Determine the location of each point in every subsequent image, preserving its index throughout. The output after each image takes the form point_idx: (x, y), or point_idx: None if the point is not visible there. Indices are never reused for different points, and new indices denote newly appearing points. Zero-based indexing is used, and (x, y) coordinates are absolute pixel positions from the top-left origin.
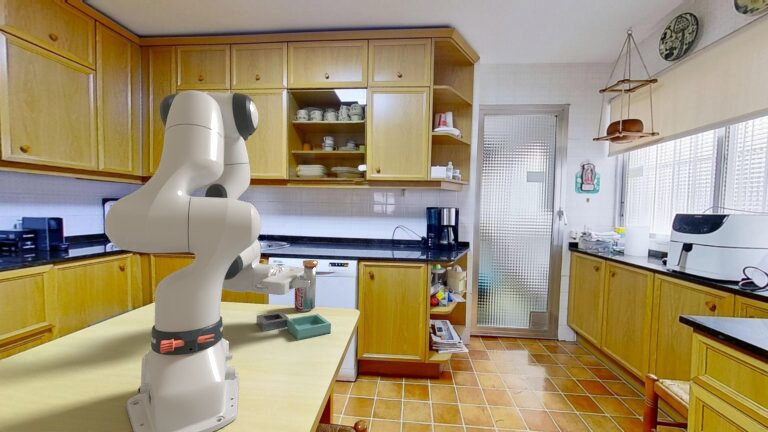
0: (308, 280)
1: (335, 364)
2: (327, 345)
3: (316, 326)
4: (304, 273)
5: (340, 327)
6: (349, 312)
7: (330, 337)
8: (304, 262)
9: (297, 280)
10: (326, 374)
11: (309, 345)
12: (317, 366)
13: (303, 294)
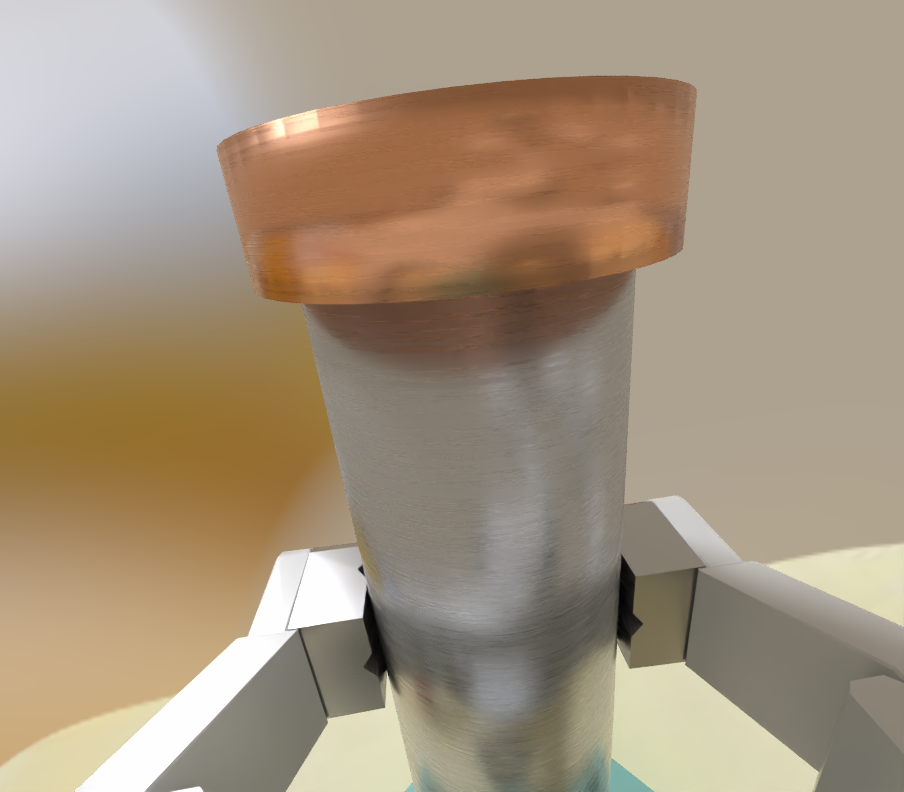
0: (634, 510)
1: (803, 557)
2: (678, 663)
3: (612, 761)
4: (612, 485)
5: (389, 701)
6: (60, 759)
7: None
8: (693, 108)
9: (900, 654)
10: (899, 555)
11: (771, 781)
12: (900, 610)
13: None
